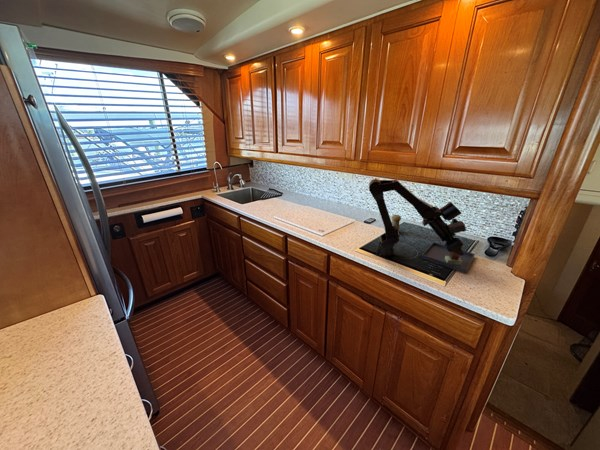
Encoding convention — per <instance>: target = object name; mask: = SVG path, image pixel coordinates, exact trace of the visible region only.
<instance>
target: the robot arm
mask: <svg viewBox="0 0 600 450" xmlns="http://www.w3.org/2000/svg"><path fill="white" fill-rule="evenodd" d="M368 190H369V192H370V194H371V196H372V198H373V199H374V200H375V202H376V205H377V206H376V207H377V209H378V212H379V215H380V217H381V220H382V223H383V226H384V233H383V234H381V235H380V236H379V237H380V241H379V242H378V247H377V252H376V253H375V255H376V256H378V257H381V258H384V259H386V260H389V259H390V258H392V257H393V256H394V251H395V248H394V246H395V245H397V243H398V242H399V241H400V238H401V234H400V230H399V231H398V229H397V225H394V226H393V224H392V218H391V216H390V213H389V211H388V208H387V204H386V201H385V198H384V193H387V192H392V191H395V192H396V193H397V194H398V195H399V196H401V197H402V198H403V199H404V200H406V201H407V202H408V203H409V204H410V205H411V206H413V208H414V209H415V210H416V212H417V213H418V214H419V215H420V217H421V218H422V222H421V223H422V225H423V227H426V226H427V225H428V226H429V227H430V228H431V229H432V230H433V232H434V233H435V235H436V236H438V238H440V239H439V240H441V241H442V242H445V244H444V245H445V247H446V248H447V250H448V251H449V252H454V253H456V254H459V255H461V256H463V255H464V253H463V251H464V250H463V248H462V249H461V246H463V247H464V242H463V241H462V240H461V239H460V238H459V237H454V236H456V235H457V234H459V233H462V232H464V233H465V232H466V231H467V228H466V224H465V223H464V221H463V220H459V219H457V217H458V216H460V215H462V211H460V209H459V208H458V207H457V206H456V205H455V204H454V203H453V202H452V201H449V202H448V203H446V204H445V205H444V206H442V207H440V208H439V207H438V206H434V205H431V204H430V203H428V202H426V201H425V200H422V199H421V198H419V197H417V196H416V195H415V194H414V193H413V192H411V190H409V189H408V188H407V187H406V186H404V185H403V184H402V183H401V182H400V181H399V180H398V179H379V178H373V179H371V180H370V181H369V183H368ZM445 221H447V222H449V224H448V223H447V222H445ZM462 250H463V251H462Z"/></svg>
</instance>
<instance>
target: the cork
mask: <svg viewBox="0 0 600 450" xmlns="http://www.w3.org/2000/svg"><path fill="white" fill-rule="evenodd" d="M401 220H402V217H401V215H399V214H393V215H392V216H391V222H392V224H393V226H394V225H397V229H398V231H399V232H400V222H401Z"/></svg>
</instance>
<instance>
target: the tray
mask: <svg viewBox="0 0 600 450" xmlns="http://www.w3.org/2000/svg"><path fill="white" fill-rule="evenodd" d="M462 251H463V253H464V255H463V256H461V255H460V256H459V258H460V259H461V260H462V264H461V265H456V264H450V263H447V262H446V261H445V256H450V253H451V252H449V251H448V250H447V248H446V247H445V244H442V243H438V242H436V241H432V242H431V243H430V245H428V247H427V248H425V250H424V251H423V252H422V253H421V255H420V259H422V260H426V261H428V262H431V263H434V264H437V265H440V266H443V267H445V268H448V269H451V270H454V271H457V272H460V273H462V274H467V272H468V270H469V268H470V266H471V264H472V262H473V260H474V259H475V256H476V254H475V253H473V252H470V251H467V250H463V249H462ZM454 267H455V268H454Z"/></svg>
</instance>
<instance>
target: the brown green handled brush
mask: <svg viewBox="0 0 600 450" xmlns="http://www.w3.org/2000/svg"><path fill="white" fill-rule="evenodd" d="M463 247H464V245H463V246H461V249H462V250H463ZM459 256H460V255H459V254H456V253H454V252H451V253H450V256H445V261H446V262H447V263H450V264H456V265H461V264H462V260H461V259H460V258H459Z"/></svg>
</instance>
